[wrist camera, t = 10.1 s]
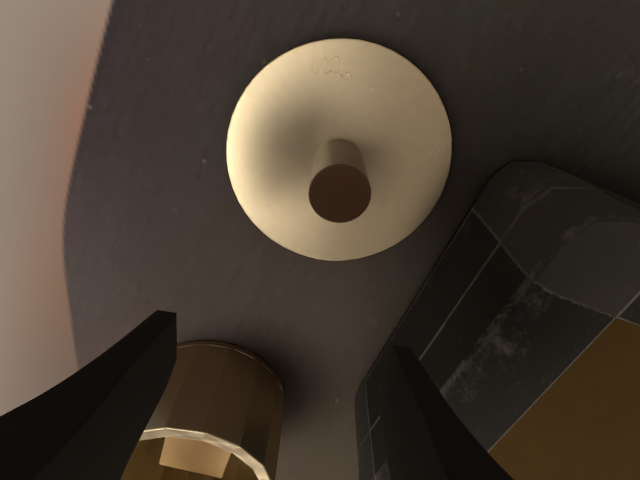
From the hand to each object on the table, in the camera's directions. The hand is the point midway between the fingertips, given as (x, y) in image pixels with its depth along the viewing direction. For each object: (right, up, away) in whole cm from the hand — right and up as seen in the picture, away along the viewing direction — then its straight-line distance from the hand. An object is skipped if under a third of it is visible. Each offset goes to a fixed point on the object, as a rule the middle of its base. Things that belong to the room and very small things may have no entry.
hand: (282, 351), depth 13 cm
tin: (-6, -7, +14) cm, 17 cm away
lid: (+2, +8, +6) cm, 10 cm away
